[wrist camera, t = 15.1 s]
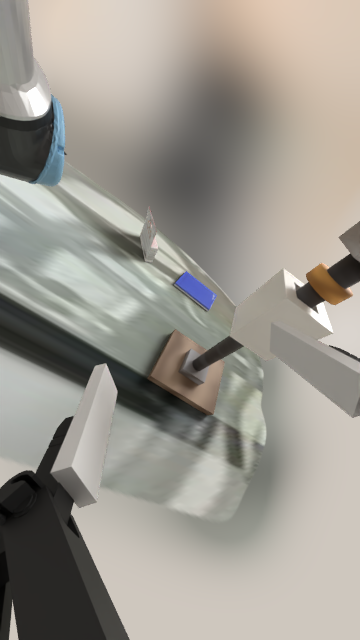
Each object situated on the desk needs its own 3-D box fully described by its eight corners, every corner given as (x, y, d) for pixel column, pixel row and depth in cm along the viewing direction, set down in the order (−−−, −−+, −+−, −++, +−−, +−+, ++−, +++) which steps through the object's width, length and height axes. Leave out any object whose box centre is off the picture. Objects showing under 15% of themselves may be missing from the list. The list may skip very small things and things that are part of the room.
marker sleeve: (229, 336, 22) (286, 297, 16) (236, 307, 26) (283, 268, 20) (266, 361, 23) (333, 333, 17) (266, 329, 27) (321, 297, 21)
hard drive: (217, 295, 56) (186, 270, 55) (209, 309, 50) (175, 282, 49) (214, 298, 57) (184, 274, 56) (206, 312, 51) (173, 286, 51)
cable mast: (147, 378, 33) (455, 116, 6) (171, 333, 41) (352, 134, 14) (207, 415, 34) (650, 327, 8) (219, 364, 42) (460, 237, 16)
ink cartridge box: (146, 238, 56) (157, 208, 49) (152, 263, 51) (165, 234, 44) (138, 236, 55) (148, 205, 47) (144, 262, 50) (156, 231, 42)
